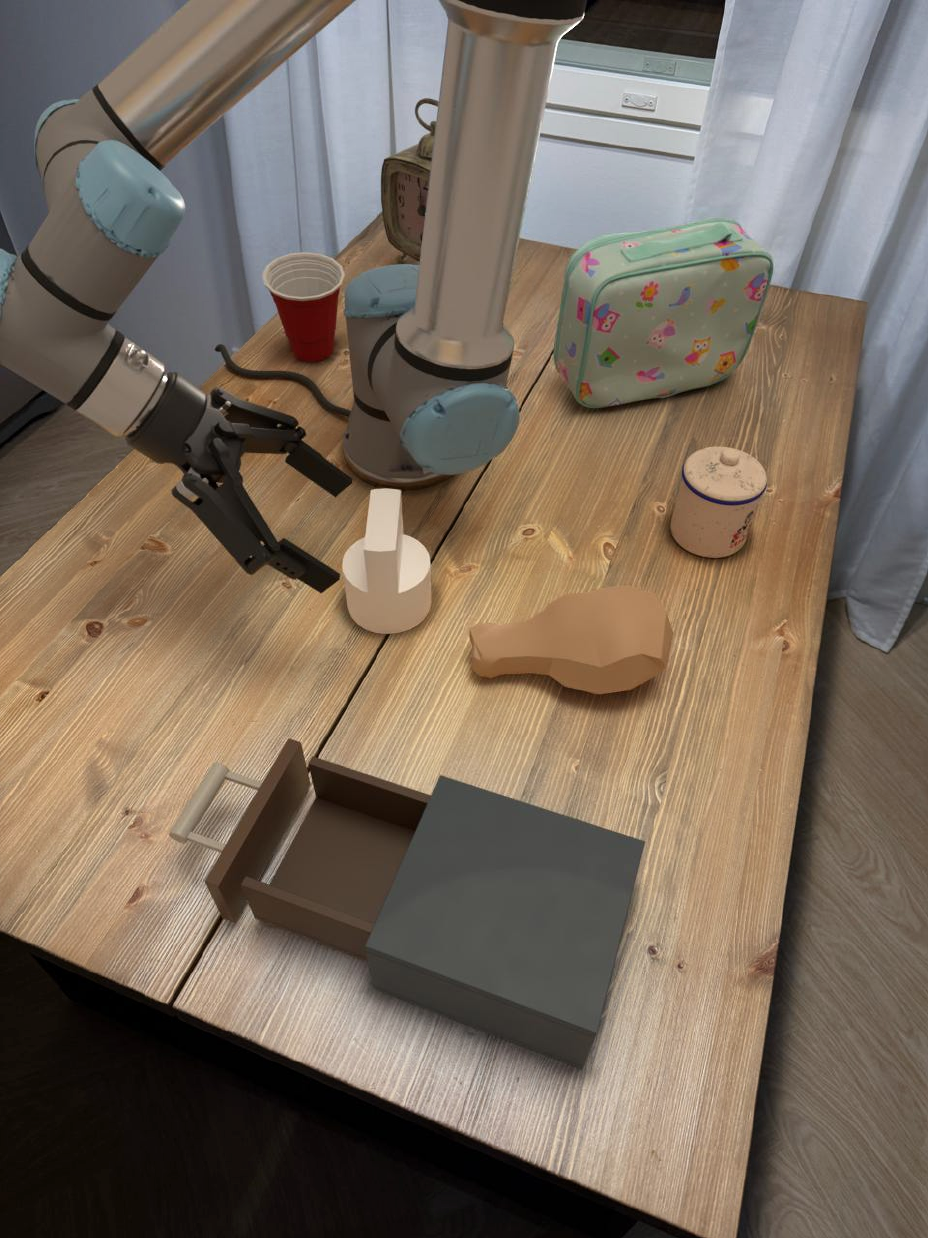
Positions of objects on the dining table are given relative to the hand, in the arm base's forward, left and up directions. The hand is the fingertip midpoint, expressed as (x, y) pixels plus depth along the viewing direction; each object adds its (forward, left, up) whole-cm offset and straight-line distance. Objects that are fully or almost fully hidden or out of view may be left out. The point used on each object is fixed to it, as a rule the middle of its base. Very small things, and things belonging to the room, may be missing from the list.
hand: (338, 533), depth 88 cm
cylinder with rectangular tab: (+3, +3, -10) cm, 11 cm away
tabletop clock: (-40, +60, -10) cm, 73 cm away
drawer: (+20, -23, -9) cm, 32 cm away
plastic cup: (-38, +31, -10) cm, 50 cm away
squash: (+23, +8, -10) cm, 27 cm away
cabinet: (+35, -18, -10) cm, 41 cm away
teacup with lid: (+23, +36, -10) cm, 44 cm away
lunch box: (+2, +56, -10) cm, 57 cm away
